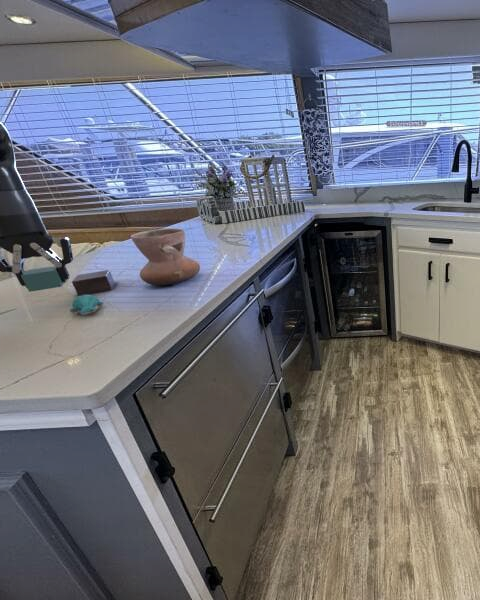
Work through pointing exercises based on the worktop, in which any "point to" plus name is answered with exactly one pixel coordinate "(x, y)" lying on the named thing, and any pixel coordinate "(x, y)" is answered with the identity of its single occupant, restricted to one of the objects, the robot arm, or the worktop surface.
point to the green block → (42, 279)
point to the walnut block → (93, 282)
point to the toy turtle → (85, 304)
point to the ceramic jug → (165, 256)
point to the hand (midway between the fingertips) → (47, 283)
